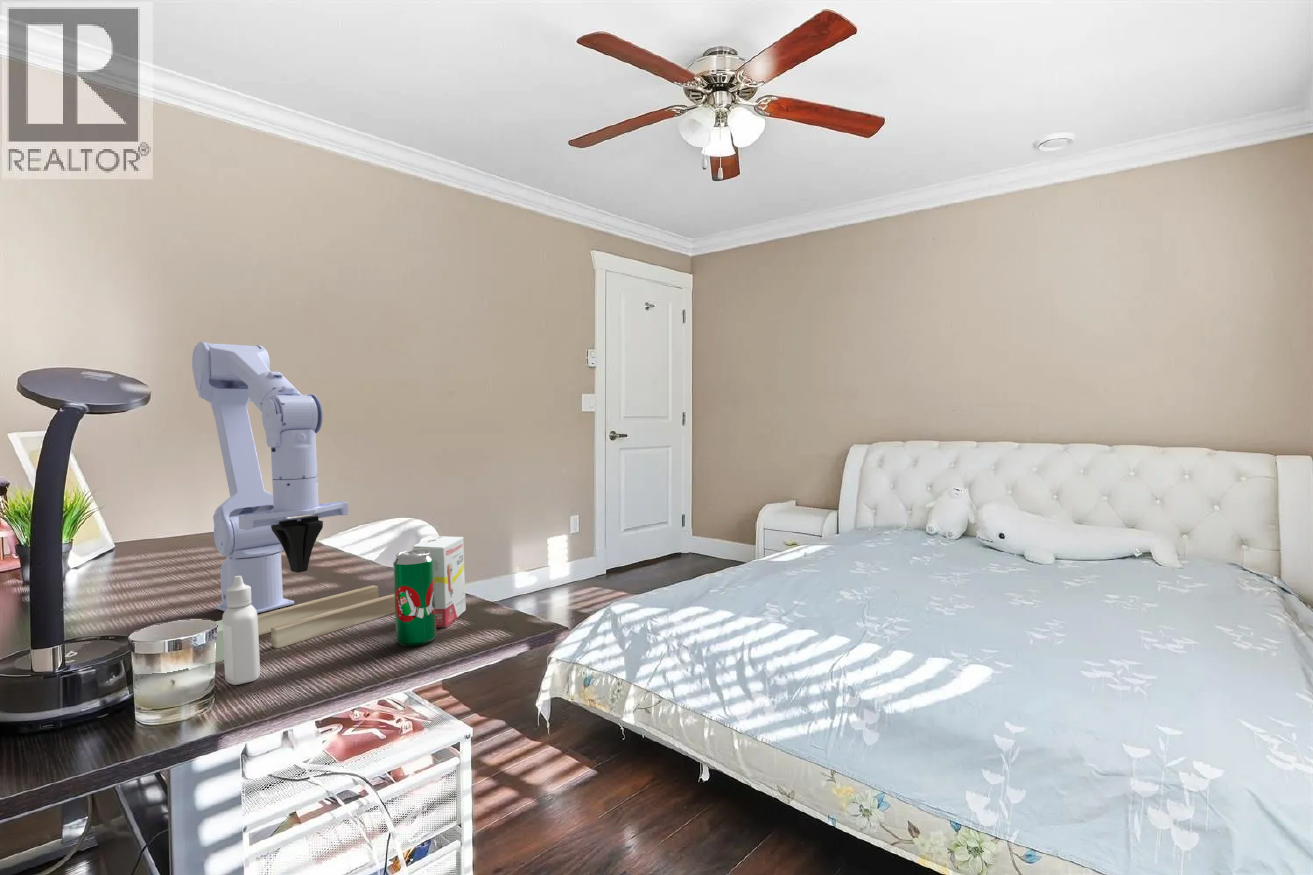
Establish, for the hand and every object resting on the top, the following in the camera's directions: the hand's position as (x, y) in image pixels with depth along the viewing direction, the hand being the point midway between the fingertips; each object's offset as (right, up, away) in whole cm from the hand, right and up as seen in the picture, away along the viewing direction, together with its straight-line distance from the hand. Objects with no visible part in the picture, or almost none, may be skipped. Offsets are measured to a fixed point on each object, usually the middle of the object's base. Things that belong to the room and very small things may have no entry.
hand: (299, 570), depth 93 cm
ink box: (+20, -8, +3) cm, 22 cm away
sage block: (-5, -9, -10) cm, 15 cm away
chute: (+3, -8, +3) cm, 9 cm away
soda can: (+20, -8, -7) cm, 22 cm away
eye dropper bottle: (+3, -9, -17) cm, 20 cm away
